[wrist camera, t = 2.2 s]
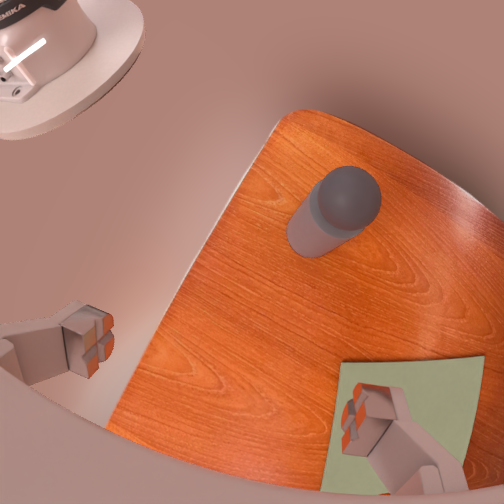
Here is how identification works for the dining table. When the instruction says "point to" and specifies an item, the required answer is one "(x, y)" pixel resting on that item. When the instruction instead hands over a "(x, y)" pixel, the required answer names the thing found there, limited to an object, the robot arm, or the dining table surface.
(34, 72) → the robot arm
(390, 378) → the mat
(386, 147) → the dining table surface
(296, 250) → the ball
